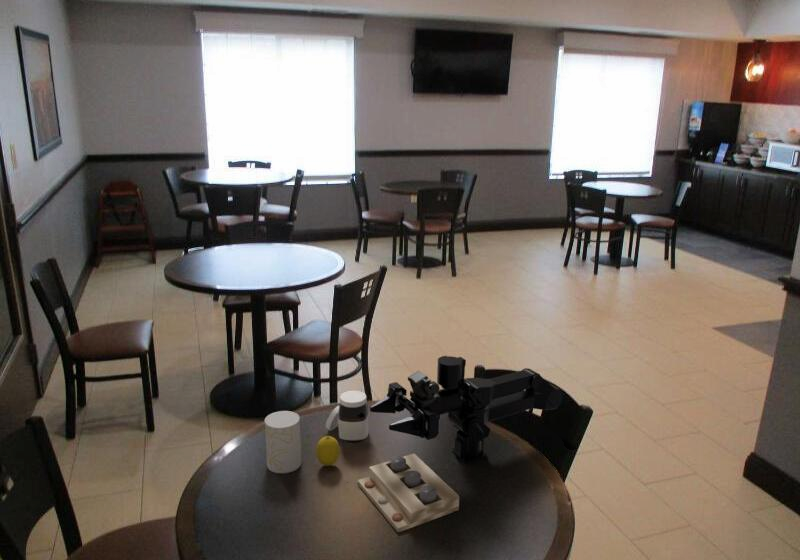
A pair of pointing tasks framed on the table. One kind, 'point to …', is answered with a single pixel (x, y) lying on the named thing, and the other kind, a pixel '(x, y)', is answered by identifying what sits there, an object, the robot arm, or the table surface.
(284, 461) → the white cylinder
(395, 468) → the button
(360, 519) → the table surface
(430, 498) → the button
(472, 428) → the robot arm
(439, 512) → the button board
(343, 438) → the spread jar
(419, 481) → the button middle
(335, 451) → the lemon
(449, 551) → the table surface
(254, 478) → the table surface
